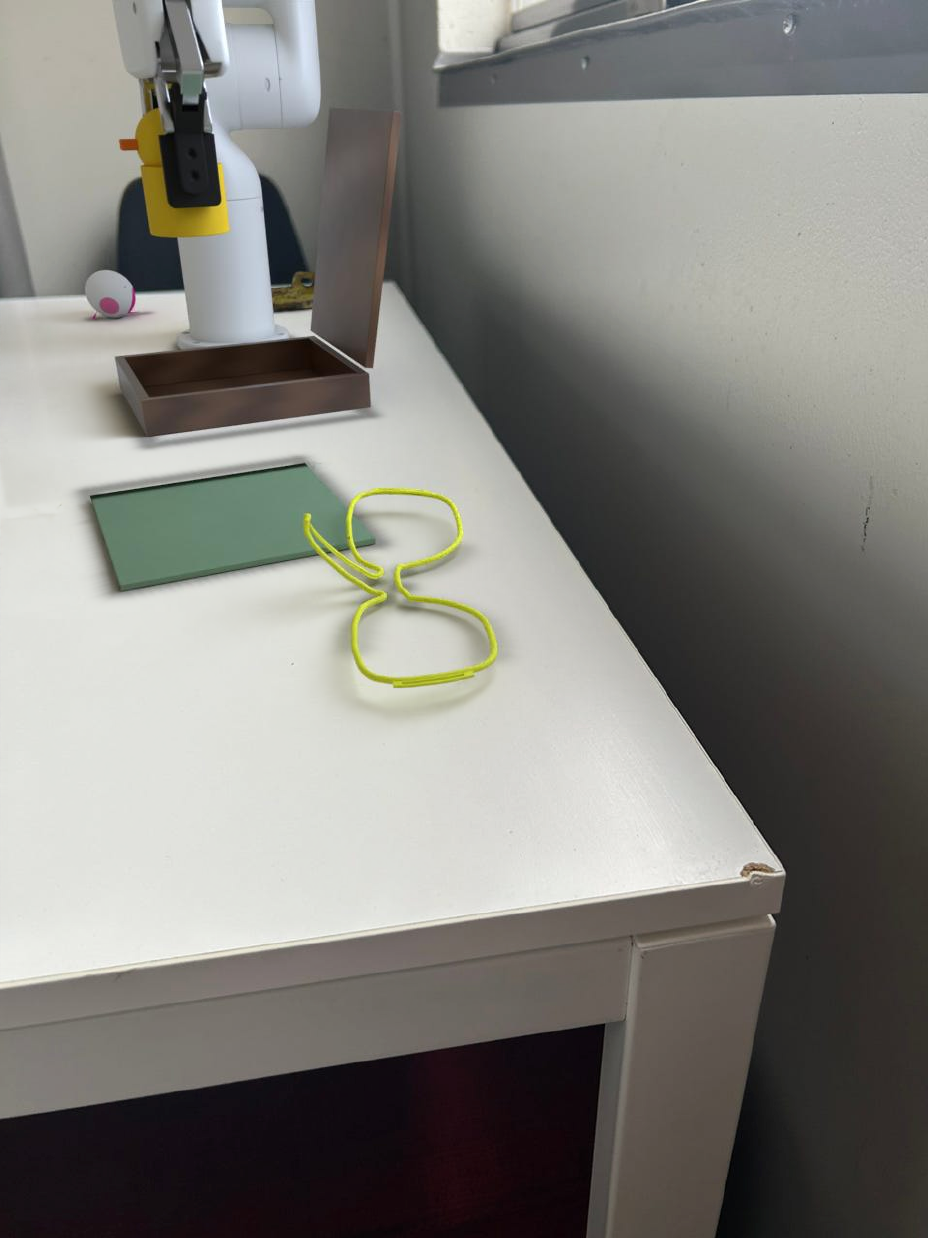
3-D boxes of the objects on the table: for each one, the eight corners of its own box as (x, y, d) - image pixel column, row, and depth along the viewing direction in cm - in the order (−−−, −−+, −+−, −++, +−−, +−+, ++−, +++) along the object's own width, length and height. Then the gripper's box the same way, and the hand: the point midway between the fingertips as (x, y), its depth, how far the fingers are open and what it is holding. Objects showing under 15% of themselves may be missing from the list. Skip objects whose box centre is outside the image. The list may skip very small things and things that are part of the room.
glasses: (509, 700, 48) (513, 614, 45) (304, 712, 47) (296, 625, 44) (452, 501, 69) (453, 435, 67) (311, 506, 68) (306, 440, 66)
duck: (220, 226, 67) (206, 106, 63) (237, 234, 63) (223, 106, 59) (129, 231, 65) (109, 107, 61) (140, 240, 60) (120, 108, 57)
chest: (148, 446, 82) (141, 401, 80) (121, 395, 95) (114, 356, 93) (371, 415, 89) (369, 373, 87) (317, 372, 102) (314, 335, 100)
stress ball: (140, 345, 127) (163, 299, 126) (81, 315, 122) (104, 266, 121) (125, 332, 133) (147, 287, 132) (68, 303, 128) (90, 256, 126)
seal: (216, 322, 129) (331, 316, 131) (211, 285, 126) (329, 280, 128) (219, 300, 136) (328, 294, 138) (214, 265, 134) (325, 260, 136)
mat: (87, 491, 73) (86, 486, 73) (298, 459, 78) (297, 454, 78) (121, 591, 58) (119, 585, 58) (375, 543, 64) (375, 537, 64)
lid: (392, 109, 78) (402, 111, 79) (329, 106, 92) (337, 108, 92) (364, 367, 87) (373, 368, 87) (310, 330, 100) (317, 331, 100)
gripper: (243, -184, 49) (279, 211, 57) (180, -122, 63) (217, 189, 71) (84, -199, 46) (146, 219, 55) (55, -131, 60) (108, 194, 68)
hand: (186, 199), depth 63 cm, fingers closed on duck, 5 cm apart
